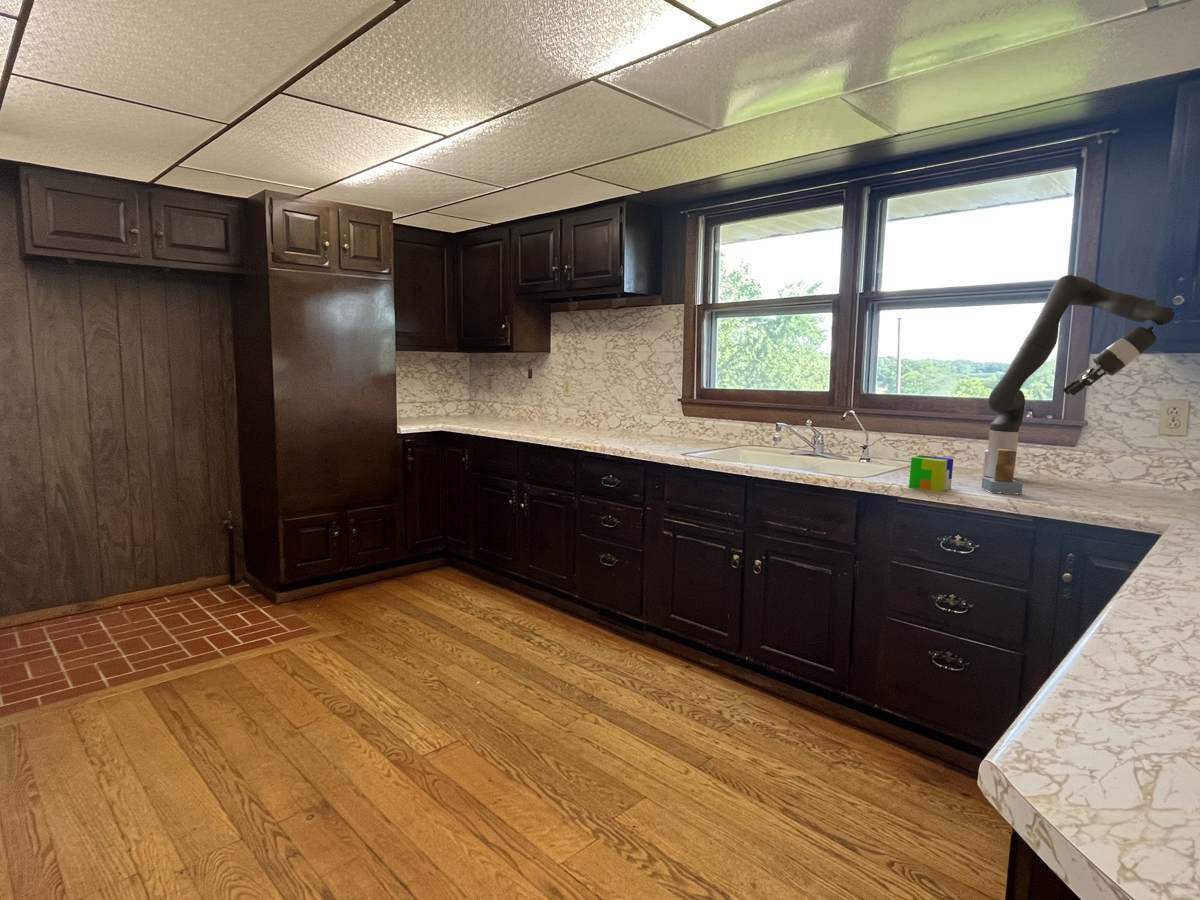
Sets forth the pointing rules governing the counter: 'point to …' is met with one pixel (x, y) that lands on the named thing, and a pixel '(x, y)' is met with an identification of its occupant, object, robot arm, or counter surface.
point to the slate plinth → (1002, 486)
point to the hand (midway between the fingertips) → (1067, 392)
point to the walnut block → (1005, 465)
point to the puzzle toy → (931, 473)
